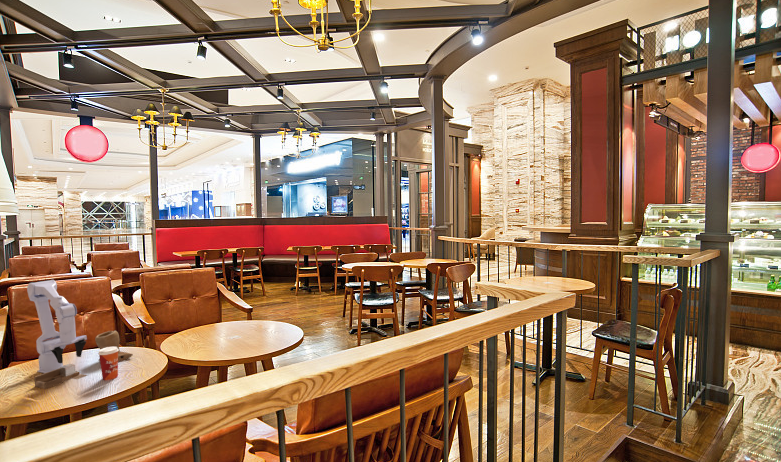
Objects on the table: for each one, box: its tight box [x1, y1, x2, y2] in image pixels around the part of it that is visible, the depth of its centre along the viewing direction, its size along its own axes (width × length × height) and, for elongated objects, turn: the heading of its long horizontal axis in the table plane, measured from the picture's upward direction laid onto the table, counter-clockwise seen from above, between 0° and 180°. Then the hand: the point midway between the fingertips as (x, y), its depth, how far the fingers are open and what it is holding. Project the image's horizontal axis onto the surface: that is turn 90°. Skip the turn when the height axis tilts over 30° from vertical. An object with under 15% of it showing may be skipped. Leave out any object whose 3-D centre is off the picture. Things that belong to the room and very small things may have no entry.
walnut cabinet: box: [33, 368, 88, 390], centre depth 176 cm, size 10×15×5 cm
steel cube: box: [60, 363, 76, 377], centre depth 179 cm, size 4×4×4 cm
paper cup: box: [97, 347, 120, 381], centre depth 178 cm, size 8×8×14 cm
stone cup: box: [94, 330, 134, 362], centre depth 200 cm, size 15×12×15 cm
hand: (69, 359), depth 180 cm, fingers open, 7 cm apart
